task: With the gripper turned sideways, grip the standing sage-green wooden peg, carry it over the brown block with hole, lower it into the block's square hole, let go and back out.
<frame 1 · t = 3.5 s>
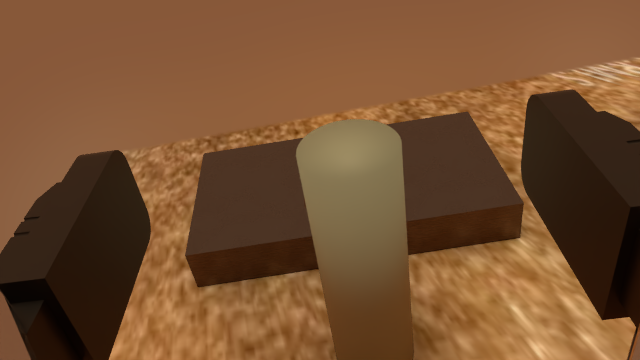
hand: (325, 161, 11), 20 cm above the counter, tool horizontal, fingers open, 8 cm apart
peg: (374, 350, 31), on the counter
brown block with hole: (347, 206, 41), on the counter
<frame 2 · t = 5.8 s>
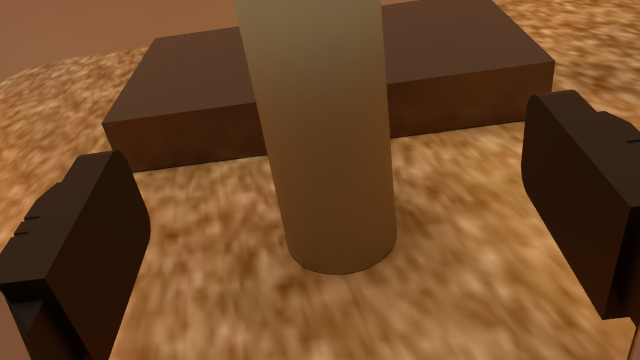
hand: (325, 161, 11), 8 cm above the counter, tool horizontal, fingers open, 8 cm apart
peg: (341, 235, 22), on the counter
brown block with hole: (326, 95, 32), on the counter
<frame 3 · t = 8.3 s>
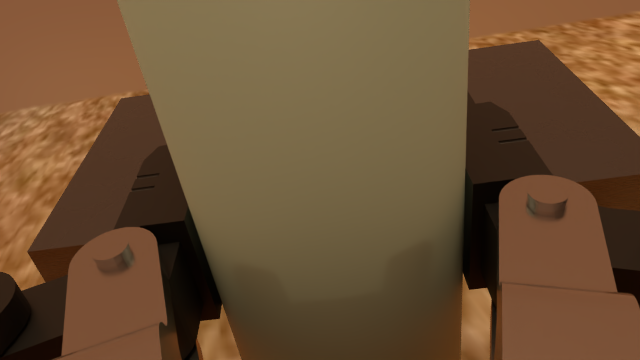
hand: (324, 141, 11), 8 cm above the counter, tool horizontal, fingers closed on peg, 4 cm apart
brown block with hole: (339, 182, 25), on the counter
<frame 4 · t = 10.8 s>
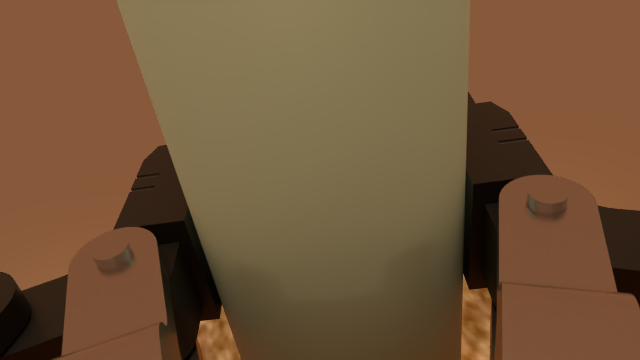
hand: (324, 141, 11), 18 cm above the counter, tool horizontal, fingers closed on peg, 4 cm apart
when the fingers open (10 cm above the counter, at t = 13.3 s): peg drops 1 cm, resting in brown block with hole.
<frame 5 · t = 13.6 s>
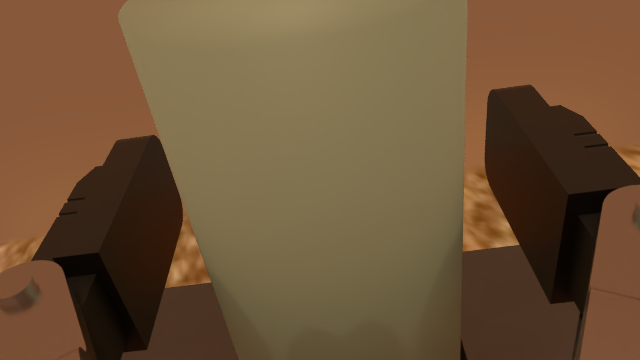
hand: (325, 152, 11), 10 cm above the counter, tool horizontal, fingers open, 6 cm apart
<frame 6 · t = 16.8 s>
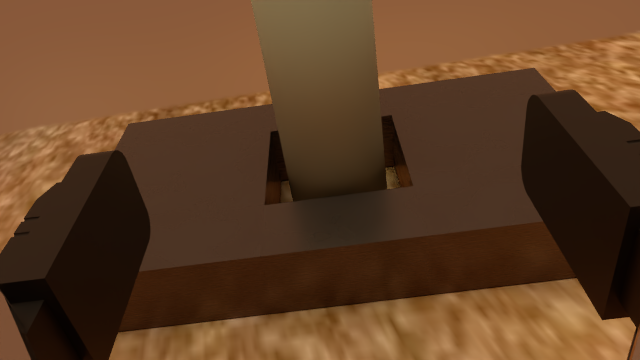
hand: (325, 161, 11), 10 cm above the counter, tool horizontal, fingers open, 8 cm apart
peg: (342, 209, 25), resting in brown block with hole
brown block with hole: (341, 208, 26), on the counter
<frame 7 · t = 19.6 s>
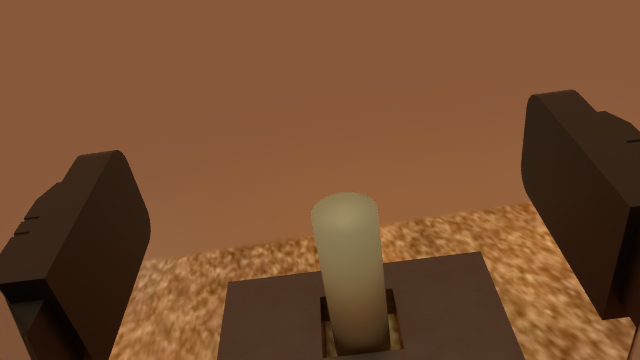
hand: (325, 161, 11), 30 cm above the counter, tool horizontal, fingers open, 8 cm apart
peg: (363, 346, 43), resting in brown block with hole
brown block with hole: (362, 346, 43), on the counter
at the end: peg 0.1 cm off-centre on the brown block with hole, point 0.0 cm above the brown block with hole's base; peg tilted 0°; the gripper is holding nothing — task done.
